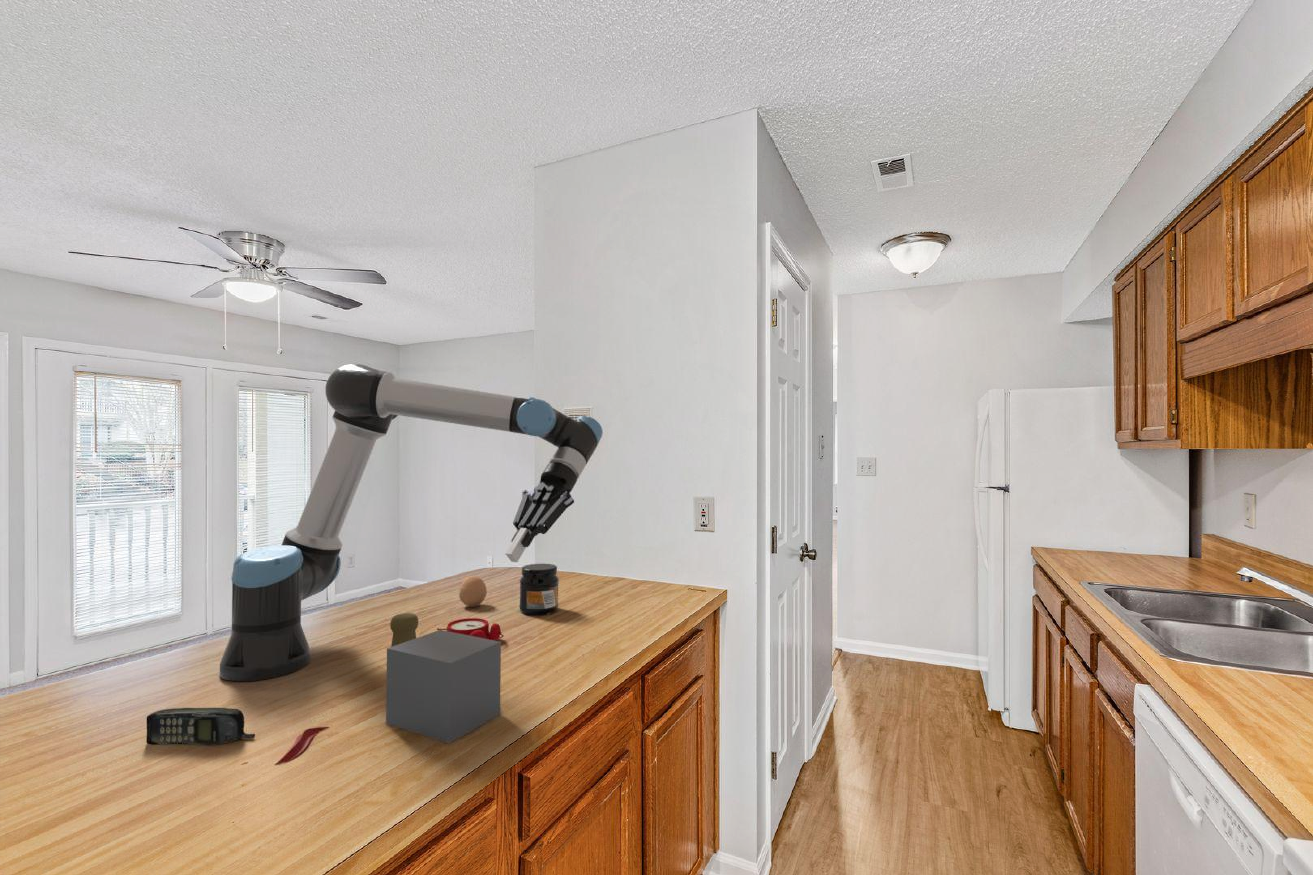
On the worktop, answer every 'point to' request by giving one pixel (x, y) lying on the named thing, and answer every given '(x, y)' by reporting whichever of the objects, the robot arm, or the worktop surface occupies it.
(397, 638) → the cork
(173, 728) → the mobile phone
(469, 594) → the egg
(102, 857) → the worktop surface
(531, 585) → the supplement container
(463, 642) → the gray box
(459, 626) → the alarm clock
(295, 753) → the cayenne pepper
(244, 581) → the robot arm
